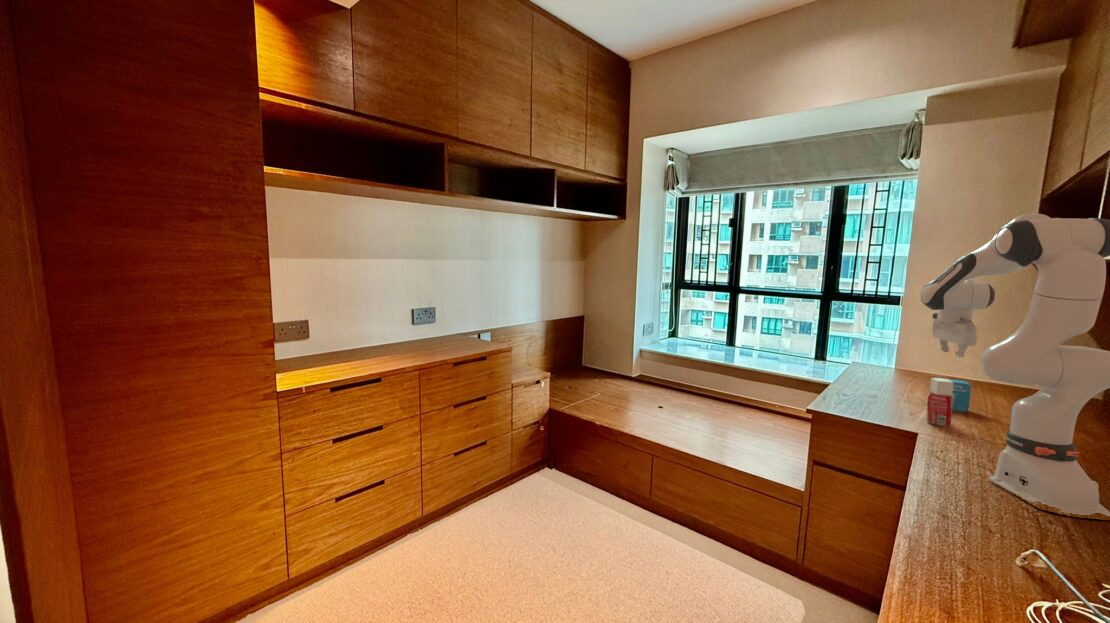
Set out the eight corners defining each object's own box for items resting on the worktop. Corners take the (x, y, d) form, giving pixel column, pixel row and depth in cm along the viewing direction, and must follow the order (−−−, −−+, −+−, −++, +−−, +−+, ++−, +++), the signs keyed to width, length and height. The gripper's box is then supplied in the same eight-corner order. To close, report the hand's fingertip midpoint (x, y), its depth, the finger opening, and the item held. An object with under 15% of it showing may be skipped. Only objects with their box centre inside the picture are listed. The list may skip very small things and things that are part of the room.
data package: (928, 406, 179) (930, 378, 178) (929, 403, 182) (932, 376, 181) (967, 413, 170) (970, 384, 169) (968, 410, 173) (971, 382, 172)
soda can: (940, 420, 163) (943, 390, 161) (956, 427, 156) (959, 396, 154) (920, 420, 163) (923, 390, 162) (935, 427, 156) (938, 395, 155)
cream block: (952, 395, 155) (953, 382, 155) (936, 394, 157) (937, 381, 156) (945, 391, 160) (946, 378, 159) (930, 390, 161) (931, 378, 161)
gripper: (984, 319, 142) (981, 360, 143) (949, 314, 162) (947, 349, 163) (961, 319, 144) (958, 359, 145) (929, 313, 163) (927, 349, 165)
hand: (952, 354), depth 154 cm, fingers open, 8 cm apart
